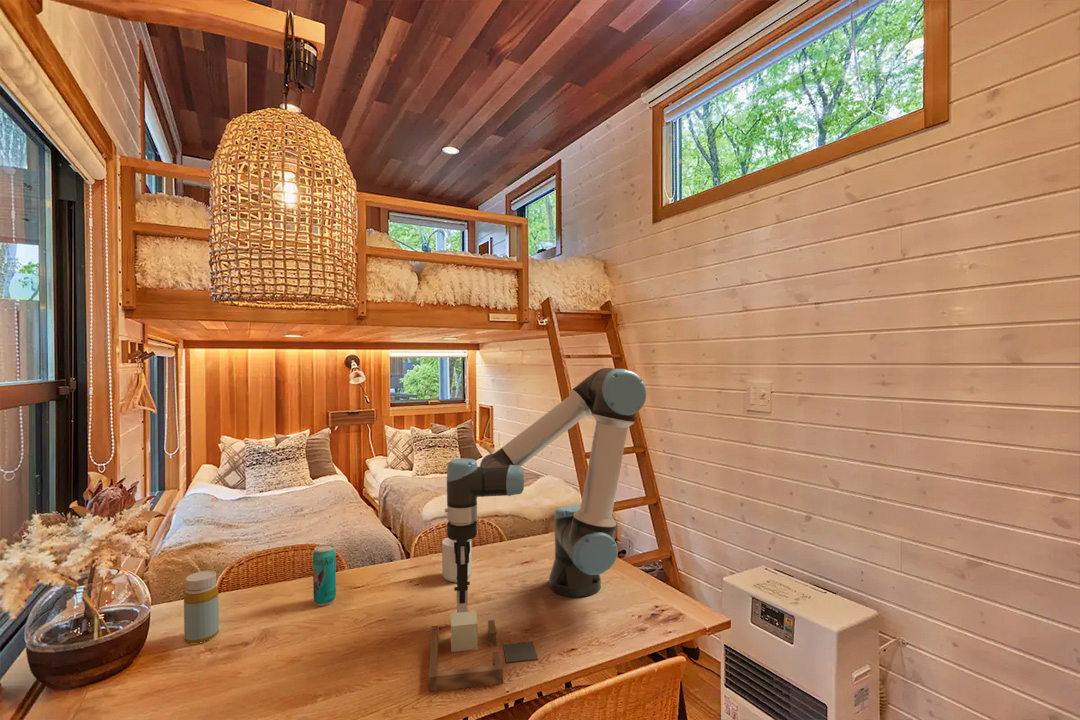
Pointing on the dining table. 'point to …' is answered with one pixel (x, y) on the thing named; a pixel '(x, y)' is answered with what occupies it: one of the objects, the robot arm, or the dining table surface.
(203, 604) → the bottle
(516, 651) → the plate
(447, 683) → the channel
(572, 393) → the robot arm
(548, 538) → the dining table surface
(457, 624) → the block
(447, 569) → the mug
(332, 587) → the beverage can
